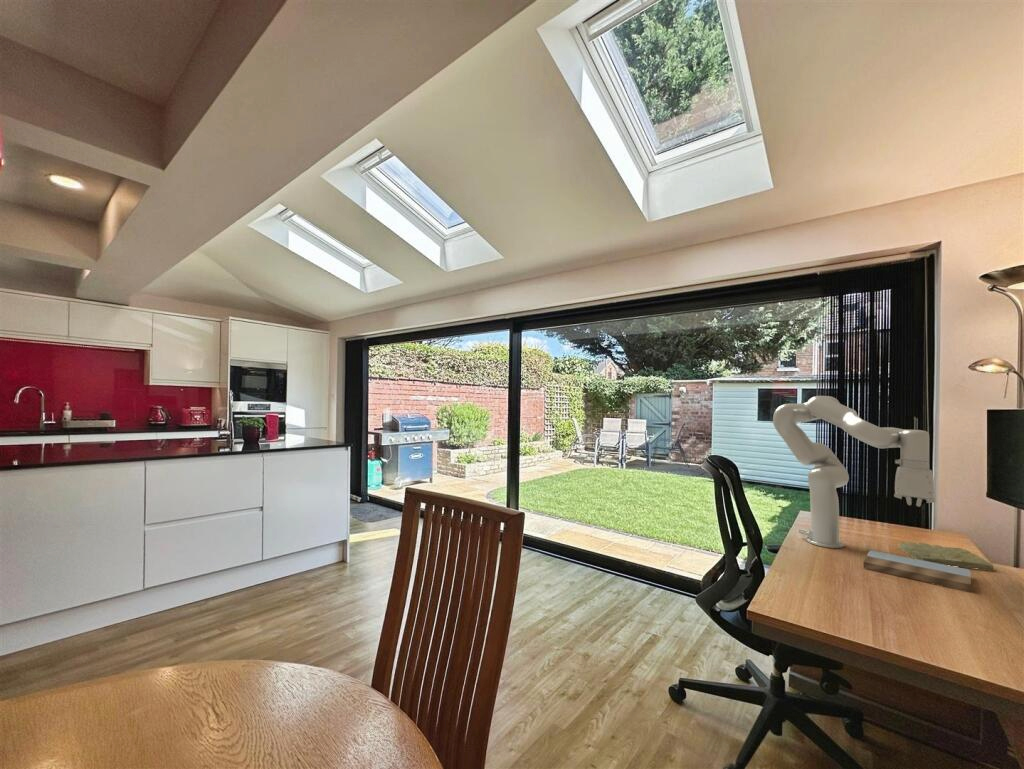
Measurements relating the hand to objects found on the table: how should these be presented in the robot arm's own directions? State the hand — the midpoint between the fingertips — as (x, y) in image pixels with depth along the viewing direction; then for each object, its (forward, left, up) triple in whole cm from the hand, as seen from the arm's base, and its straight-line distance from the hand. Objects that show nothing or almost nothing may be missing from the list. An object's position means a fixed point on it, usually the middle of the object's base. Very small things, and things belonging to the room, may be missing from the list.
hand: (913, 516), depth 154 cm
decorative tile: (+6, +20, -19) cm, 28 cm away
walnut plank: (0, -10, -18) cm, 21 cm away
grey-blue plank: (0, -2, -17) cm, 18 cm away
